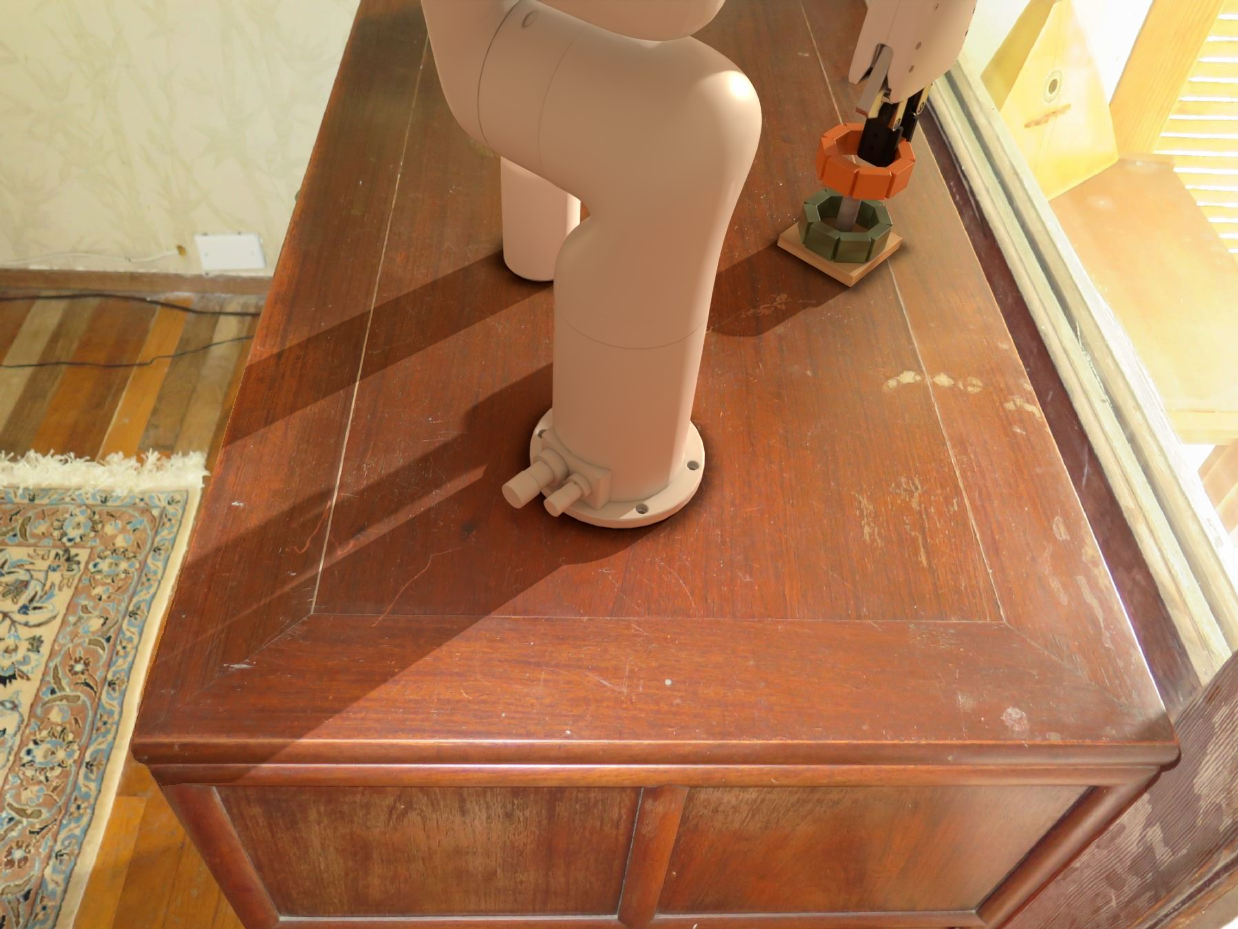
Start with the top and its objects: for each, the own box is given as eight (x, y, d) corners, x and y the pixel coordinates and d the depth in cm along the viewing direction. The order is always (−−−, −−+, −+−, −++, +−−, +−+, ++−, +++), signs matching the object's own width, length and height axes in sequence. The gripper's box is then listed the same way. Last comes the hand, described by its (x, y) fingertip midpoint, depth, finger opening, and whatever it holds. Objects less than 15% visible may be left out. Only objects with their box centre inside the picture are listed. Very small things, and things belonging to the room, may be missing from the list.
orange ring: (871, 211, 81) (879, 186, 79) (798, 169, 84) (804, 144, 82) (922, 176, 84) (931, 151, 82) (851, 137, 87) (857, 112, 86)
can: (568, 290, 84) (572, 166, 74) (494, 276, 84) (489, 152, 75) (585, 243, 88) (591, 121, 78) (514, 231, 88) (512, 108, 79)
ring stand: (850, 287, 86) (872, 215, 80) (776, 245, 89) (793, 172, 83) (899, 248, 90) (923, 176, 84) (827, 209, 93) (846, 137, 87)
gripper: (957, -111, 77) (892, 106, 91) (843, -54, 69) (792, 174, 83) (1045, -79, 74) (964, 141, 88) (936, -15, 66) (866, 214, 80)
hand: (881, 156), depth 85 cm, fingers closed on orange ring, 1 cm apart
